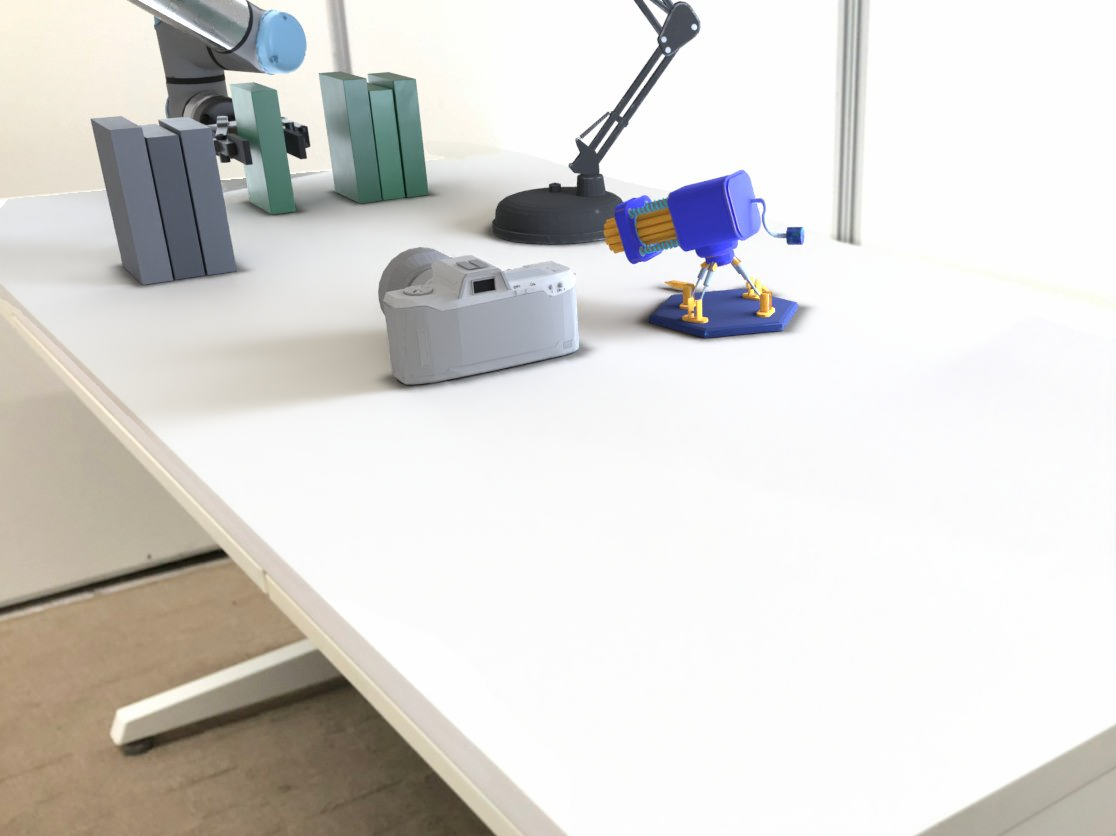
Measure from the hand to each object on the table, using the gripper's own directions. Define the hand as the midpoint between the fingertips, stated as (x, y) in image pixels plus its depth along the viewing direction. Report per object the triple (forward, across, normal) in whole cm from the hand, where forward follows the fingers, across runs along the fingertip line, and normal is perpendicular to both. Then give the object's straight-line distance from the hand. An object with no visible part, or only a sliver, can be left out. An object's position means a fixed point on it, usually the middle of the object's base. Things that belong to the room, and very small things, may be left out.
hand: (275, 150), depth 153 cm
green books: (-5, -14, -8) cm, 17 cm away
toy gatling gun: (+64, -20, -8) cm, 67 cm away
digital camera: (+63, +3, -8) cm, 63 cm away
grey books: (+20, +17, -8) cm, 27 cm away
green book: (-5, 0, -8) cm, 9 cm away
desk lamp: (+26, -23, -8) cm, 35 cm away
